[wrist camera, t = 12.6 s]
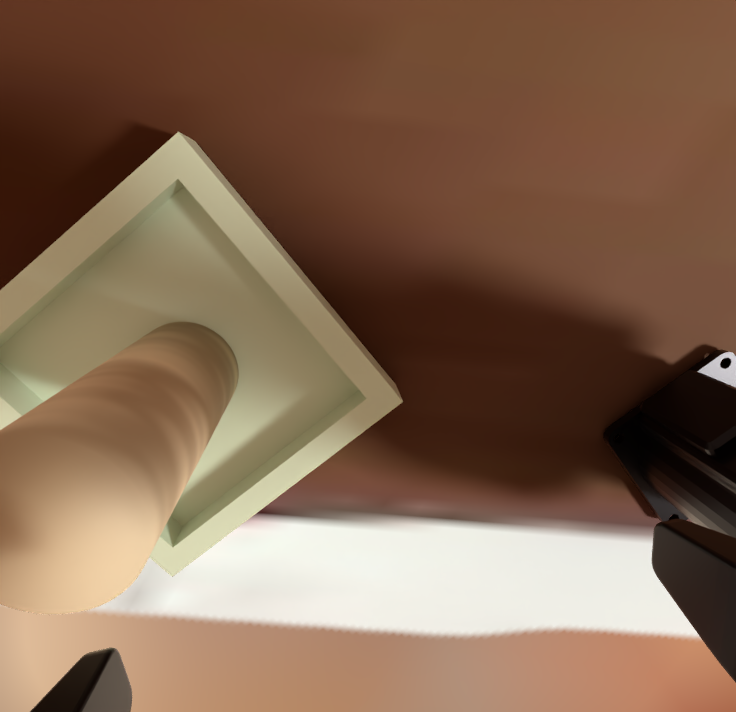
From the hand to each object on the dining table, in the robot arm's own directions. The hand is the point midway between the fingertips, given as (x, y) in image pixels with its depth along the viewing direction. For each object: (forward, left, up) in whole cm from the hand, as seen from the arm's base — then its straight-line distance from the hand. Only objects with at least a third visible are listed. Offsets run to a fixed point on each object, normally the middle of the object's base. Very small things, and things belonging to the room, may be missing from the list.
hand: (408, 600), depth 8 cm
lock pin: (+4, +5, -12) cm, 14 cm away
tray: (+4, +5, -13) cm, 14 cm away
